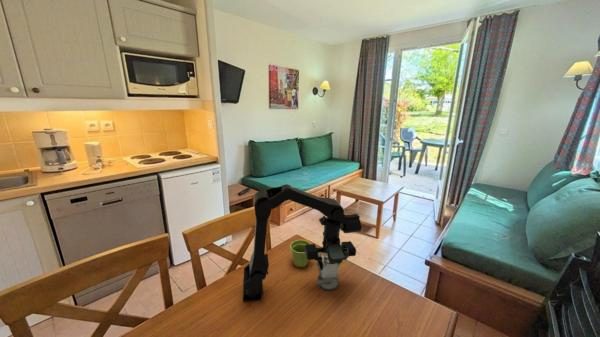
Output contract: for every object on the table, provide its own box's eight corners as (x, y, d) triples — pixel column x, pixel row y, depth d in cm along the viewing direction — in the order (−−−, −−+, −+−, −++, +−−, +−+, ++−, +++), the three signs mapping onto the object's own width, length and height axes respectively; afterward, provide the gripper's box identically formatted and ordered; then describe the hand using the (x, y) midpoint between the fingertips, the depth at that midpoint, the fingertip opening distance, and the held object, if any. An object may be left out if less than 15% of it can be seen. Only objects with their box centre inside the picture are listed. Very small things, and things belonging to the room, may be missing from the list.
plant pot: (299, 273, 98) (300, 255, 96) (285, 261, 105) (285, 245, 102) (315, 263, 104) (316, 246, 102) (301, 253, 111) (301, 237, 108)
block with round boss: (323, 278, 88) (324, 262, 86) (319, 267, 94) (320, 252, 92) (337, 276, 90) (339, 261, 88) (333, 266, 95) (334, 251, 93)
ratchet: (340, 290, 90) (341, 279, 89) (320, 292, 89) (321, 281, 87) (328, 261, 106) (328, 252, 104) (310, 263, 104) (311, 253, 103)
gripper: (311, 248, 78) (309, 287, 82) (364, 244, 81) (359, 281, 85) (304, 230, 88) (303, 265, 93) (352, 227, 91) (348, 261, 96)
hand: (328, 268), depth 91 cm, fingers closed on block with round boss, 6 cm apart
